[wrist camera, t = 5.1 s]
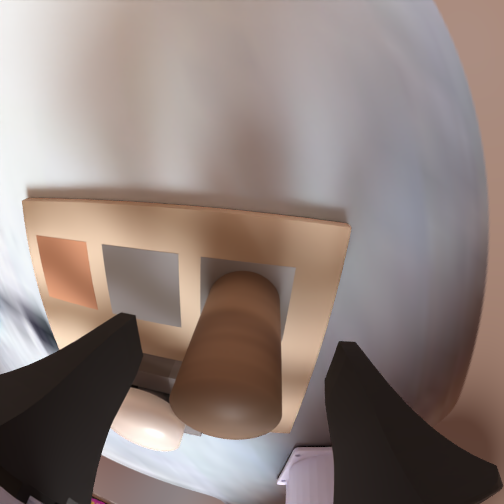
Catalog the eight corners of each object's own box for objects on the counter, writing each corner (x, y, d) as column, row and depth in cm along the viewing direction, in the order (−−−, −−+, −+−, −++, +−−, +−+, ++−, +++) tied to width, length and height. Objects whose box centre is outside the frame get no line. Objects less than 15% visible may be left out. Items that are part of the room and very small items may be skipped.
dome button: (194, 419, 16) (184, 457, 13) (129, 403, 16) (113, 437, 13) (190, 375, 14) (174, 420, 11) (114, 357, 14) (90, 394, 11)
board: (289, 426, 17) (289, 449, 15) (79, 381, 18) (68, 397, 16) (347, 223, 11) (360, 240, 9) (28, 197, 12) (5, 207, 10)
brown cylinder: (274, 335, 13) (271, 443, 7) (207, 326, 13) (174, 429, 8) (285, 276, 12) (292, 385, 6) (210, 265, 12) (164, 366, 6)
